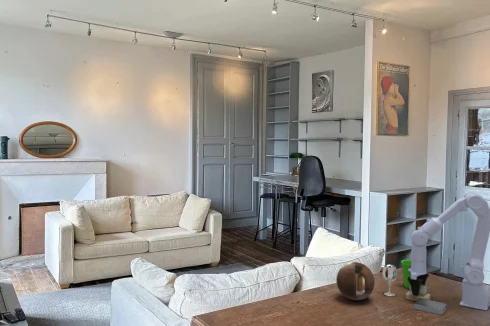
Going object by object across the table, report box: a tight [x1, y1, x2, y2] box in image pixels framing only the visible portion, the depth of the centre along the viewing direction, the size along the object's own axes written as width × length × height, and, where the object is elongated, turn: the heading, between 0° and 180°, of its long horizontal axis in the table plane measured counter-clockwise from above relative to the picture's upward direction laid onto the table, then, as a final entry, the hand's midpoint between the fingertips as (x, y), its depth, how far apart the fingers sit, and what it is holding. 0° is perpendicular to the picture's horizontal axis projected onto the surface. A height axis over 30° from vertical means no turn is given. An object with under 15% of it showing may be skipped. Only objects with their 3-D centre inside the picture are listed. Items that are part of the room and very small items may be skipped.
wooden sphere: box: [335, 261, 375, 301], centre depth 174 cm, size 15×15×15 cm
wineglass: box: [382, 264, 398, 297], centre depth 180 cm, size 6×6×12 cm
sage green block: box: [405, 284, 431, 302], centre depth 175 cm, size 8×6×6 cm
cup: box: [400, 259, 411, 289], centre depth 190 cm, size 9×9×11 cm
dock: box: [413, 298, 448, 316], centre depth 164 cm, size 10×8×2 cm
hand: (418, 292), depth 175 cm, fingers open, 7 cm apart
